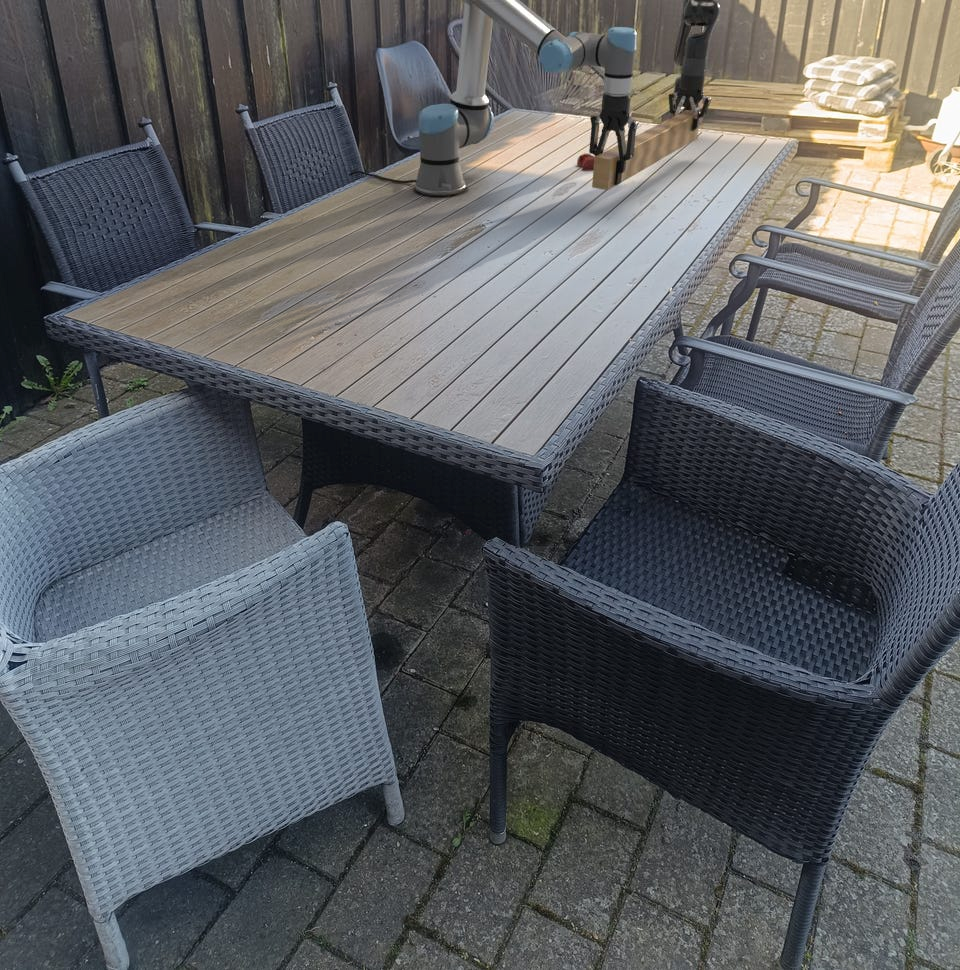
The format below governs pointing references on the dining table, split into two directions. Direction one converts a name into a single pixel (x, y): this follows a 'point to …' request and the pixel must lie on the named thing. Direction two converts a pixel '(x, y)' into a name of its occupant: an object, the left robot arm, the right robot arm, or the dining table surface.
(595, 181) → the bar
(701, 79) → the right robot arm
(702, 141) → the dining table surface
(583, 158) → the red rounded lump
